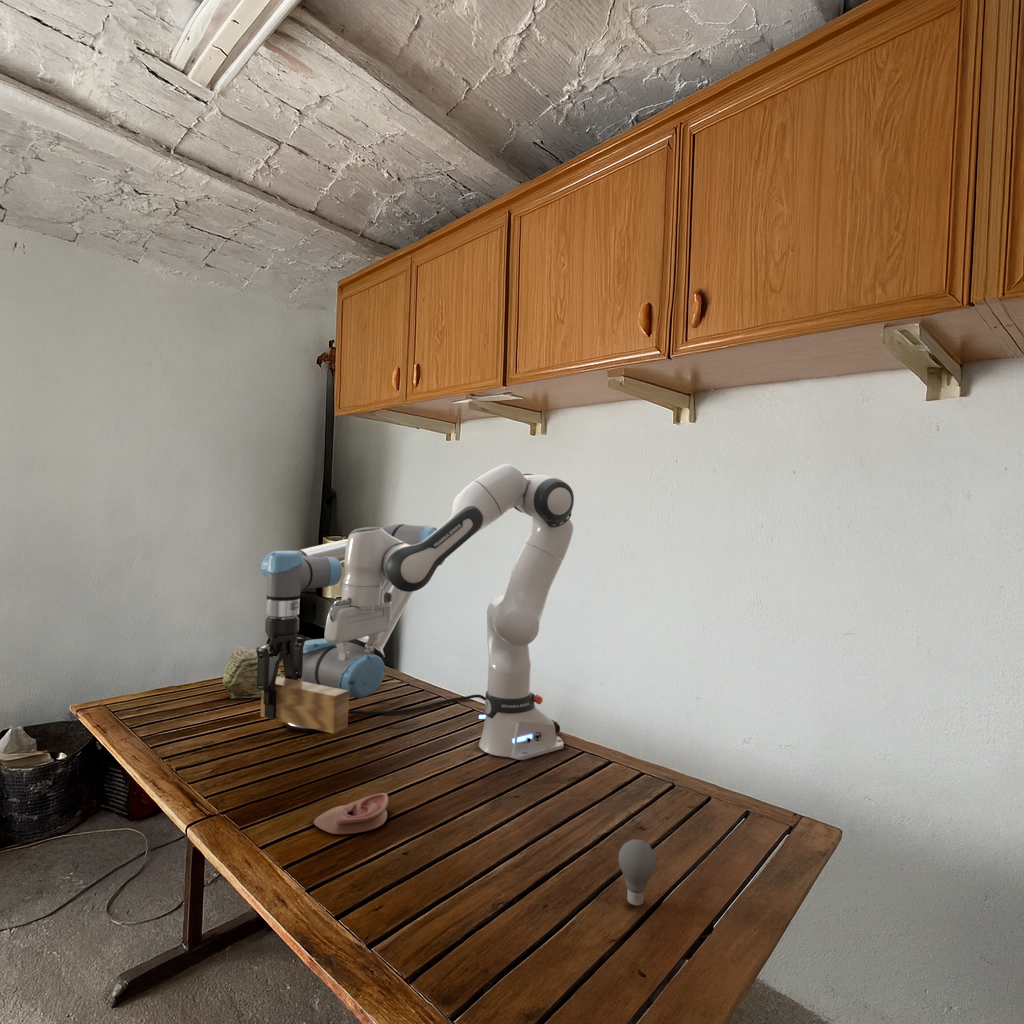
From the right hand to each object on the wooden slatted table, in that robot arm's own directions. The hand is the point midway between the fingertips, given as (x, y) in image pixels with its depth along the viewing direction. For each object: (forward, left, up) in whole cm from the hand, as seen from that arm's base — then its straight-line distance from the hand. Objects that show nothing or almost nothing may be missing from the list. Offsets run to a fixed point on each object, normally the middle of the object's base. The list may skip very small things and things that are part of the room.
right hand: (356, 656), depth 146 cm
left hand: (+15, -12, -16) cm, 25 cm away
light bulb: (-30, +66, -27) cm, 77 cm away
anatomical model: (+5, +23, -27) cm, 36 cm away
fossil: (+15, -65, -27) cm, 72 cm away
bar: (+10, -6, -16) cm, 20 cm away
